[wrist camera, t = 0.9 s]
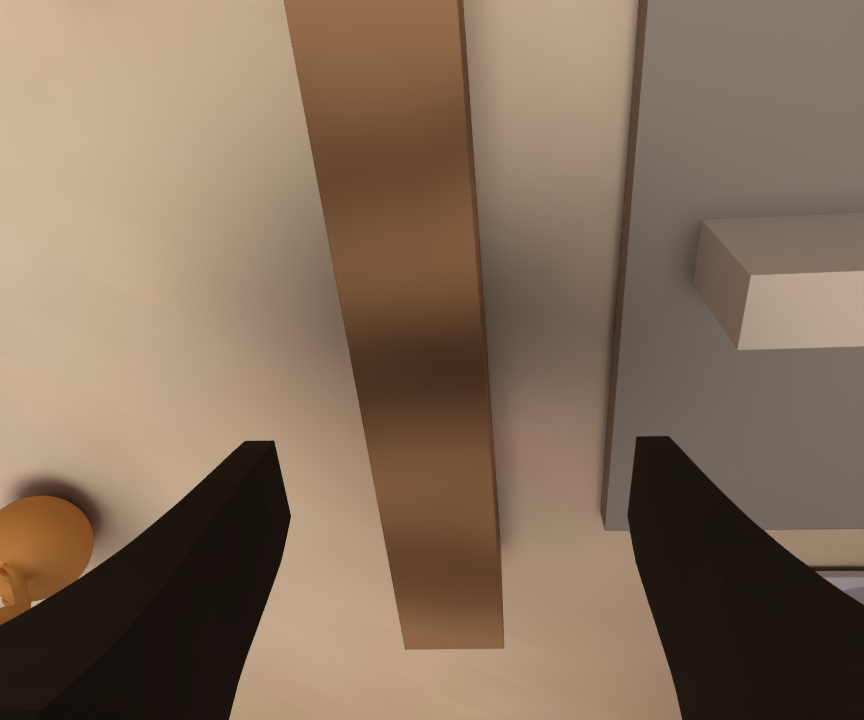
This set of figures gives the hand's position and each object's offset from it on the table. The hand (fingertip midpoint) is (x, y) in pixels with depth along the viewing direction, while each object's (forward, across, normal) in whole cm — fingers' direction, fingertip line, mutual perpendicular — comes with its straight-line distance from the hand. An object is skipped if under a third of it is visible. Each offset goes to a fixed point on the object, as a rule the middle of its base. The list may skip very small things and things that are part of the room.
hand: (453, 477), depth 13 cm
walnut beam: (+10, +1, +1) cm, 10 cm away
